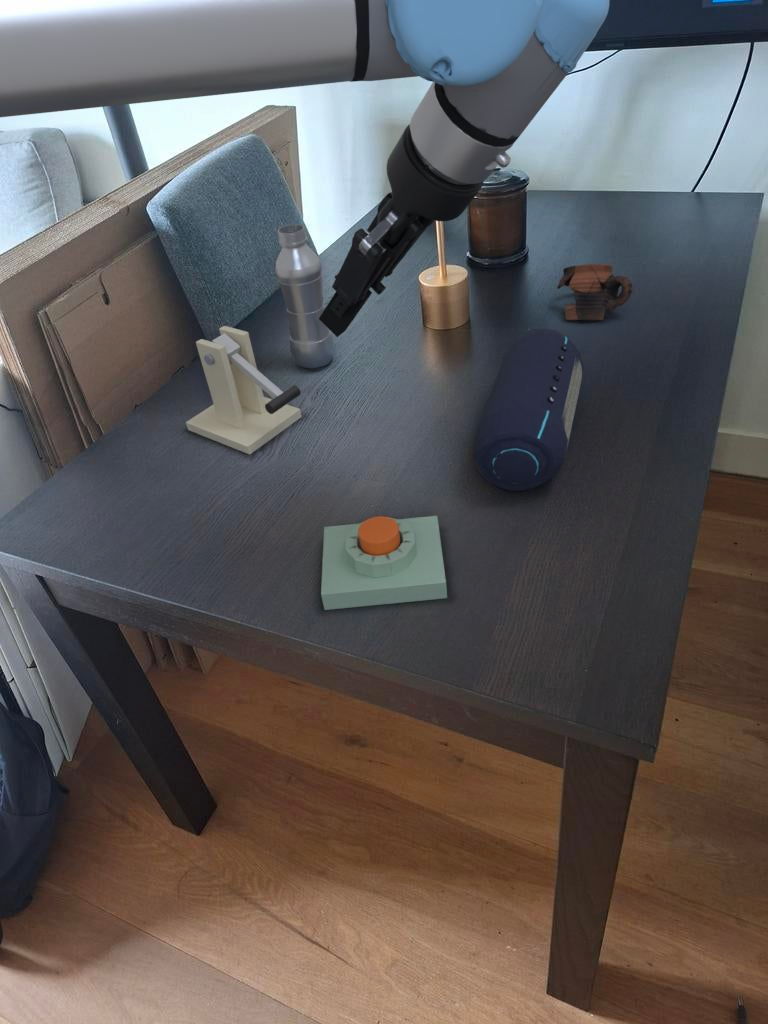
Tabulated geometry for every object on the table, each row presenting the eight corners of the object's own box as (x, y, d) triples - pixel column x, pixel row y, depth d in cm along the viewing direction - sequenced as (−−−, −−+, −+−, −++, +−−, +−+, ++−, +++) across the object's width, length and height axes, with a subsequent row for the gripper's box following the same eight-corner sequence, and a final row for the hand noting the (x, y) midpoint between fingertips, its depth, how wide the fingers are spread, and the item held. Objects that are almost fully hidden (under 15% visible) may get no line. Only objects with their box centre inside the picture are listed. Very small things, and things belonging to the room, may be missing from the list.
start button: (360, 558, 74) (358, 544, 73) (360, 531, 77) (357, 518, 76) (401, 554, 74) (399, 540, 72) (399, 527, 77) (397, 514, 76)
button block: (324, 610, 74) (317, 581, 71) (327, 542, 82) (321, 513, 79) (447, 598, 73) (445, 568, 71) (438, 531, 81) (436, 502, 79)
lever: (298, 399, 96) (302, 387, 94) (271, 419, 93) (275, 406, 91) (230, 341, 98) (232, 328, 96) (201, 358, 95) (203, 345, 93)
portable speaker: (560, 509, 82) (564, 431, 75) (469, 499, 85) (465, 424, 78) (584, 389, 100) (589, 318, 93) (508, 385, 103) (508, 316, 96)
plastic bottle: (312, 349, 117) (287, 218, 105) (346, 358, 114) (325, 223, 101) (284, 367, 113) (255, 234, 101) (319, 377, 110) (293, 240, 97)
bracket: (302, 417, 102) (284, 329, 94) (249, 455, 96) (225, 365, 88) (240, 395, 108) (218, 312, 100) (188, 430, 103) (160, 344, 95)
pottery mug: (545, 322, 117) (546, 267, 115) (574, 326, 124) (575, 273, 122) (620, 316, 109) (622, 257, 107) (646, 320, 116) (648, 264, 114)
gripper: (440, 217, 56) (321, 382, 76) (517, 158, 64) (391, 321, 83) (368, 144, 56) (266, 328, 75) (455, 93, 63) (342, 272, 83)
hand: (332, 324), depth 79 cm, fingers closed
